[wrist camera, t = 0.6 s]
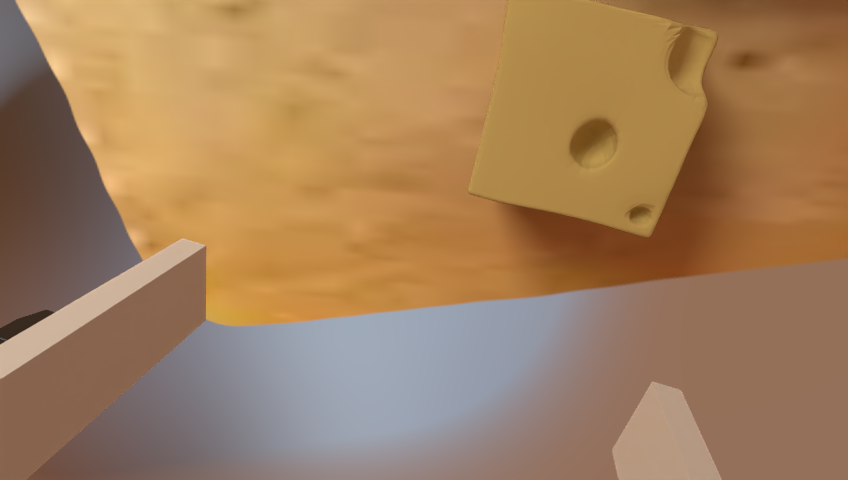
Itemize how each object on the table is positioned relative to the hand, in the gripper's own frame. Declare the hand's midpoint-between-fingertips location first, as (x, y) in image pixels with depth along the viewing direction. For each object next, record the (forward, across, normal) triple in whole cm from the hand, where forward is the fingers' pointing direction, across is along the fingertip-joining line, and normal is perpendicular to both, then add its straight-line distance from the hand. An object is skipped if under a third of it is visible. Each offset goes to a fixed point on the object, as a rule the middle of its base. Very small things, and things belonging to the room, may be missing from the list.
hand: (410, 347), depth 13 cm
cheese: (+22, +5, +6) cm, 24 cm away
